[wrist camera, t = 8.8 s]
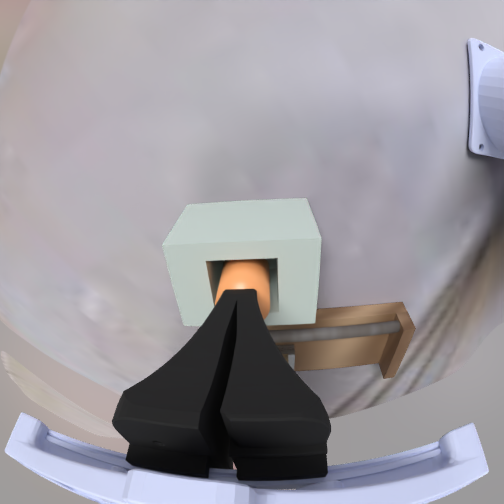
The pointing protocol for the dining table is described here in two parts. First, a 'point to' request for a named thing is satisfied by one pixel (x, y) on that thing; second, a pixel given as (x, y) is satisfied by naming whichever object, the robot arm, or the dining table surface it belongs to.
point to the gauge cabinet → (246, 255)
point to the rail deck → (350, 338)
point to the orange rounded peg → (247, 280)
